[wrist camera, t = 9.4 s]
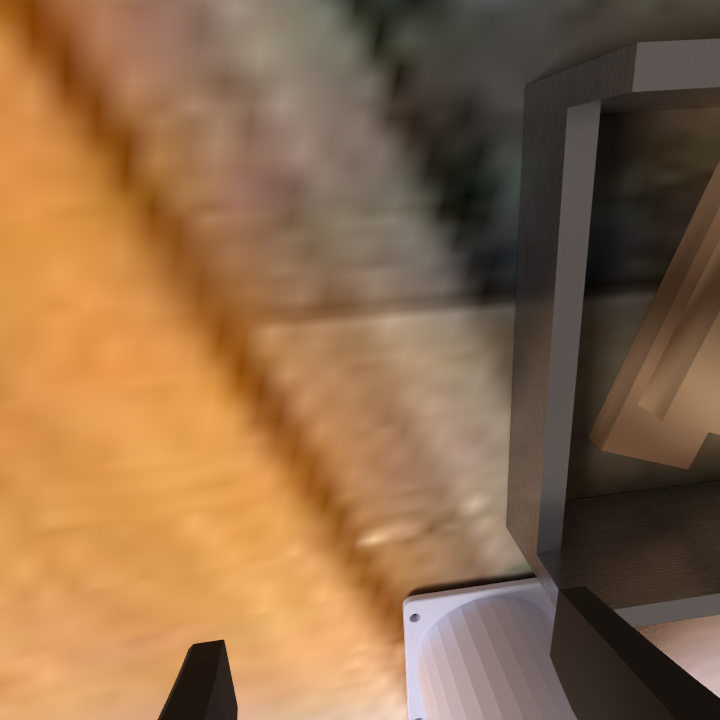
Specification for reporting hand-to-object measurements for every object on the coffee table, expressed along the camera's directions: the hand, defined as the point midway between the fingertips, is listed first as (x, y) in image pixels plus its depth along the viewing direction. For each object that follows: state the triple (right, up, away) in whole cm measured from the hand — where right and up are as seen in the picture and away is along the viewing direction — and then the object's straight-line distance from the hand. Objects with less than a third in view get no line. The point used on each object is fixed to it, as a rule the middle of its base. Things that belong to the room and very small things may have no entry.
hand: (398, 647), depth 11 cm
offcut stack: (+13, +8, +11) cm, 18 cm away
